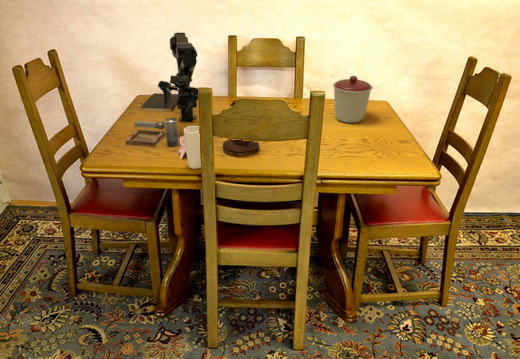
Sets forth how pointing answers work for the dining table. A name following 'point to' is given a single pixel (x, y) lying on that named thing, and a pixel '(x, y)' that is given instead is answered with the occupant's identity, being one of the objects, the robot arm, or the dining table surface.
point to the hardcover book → (160, 103)
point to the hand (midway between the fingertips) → (175, 109)
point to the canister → (351, 99)
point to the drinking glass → (192, 146)
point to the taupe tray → (145, 138)
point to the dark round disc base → (240, 145)
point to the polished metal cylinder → (171, 132)
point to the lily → (182, 147)
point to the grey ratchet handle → (150, 124)
